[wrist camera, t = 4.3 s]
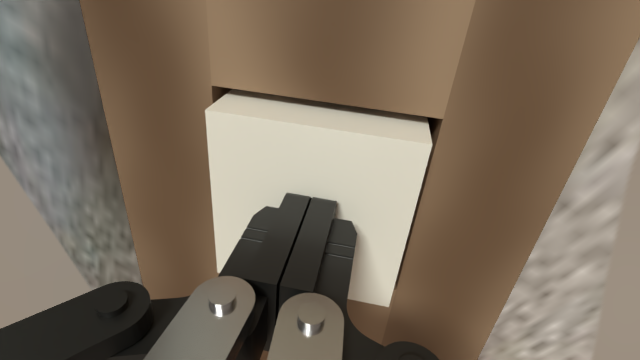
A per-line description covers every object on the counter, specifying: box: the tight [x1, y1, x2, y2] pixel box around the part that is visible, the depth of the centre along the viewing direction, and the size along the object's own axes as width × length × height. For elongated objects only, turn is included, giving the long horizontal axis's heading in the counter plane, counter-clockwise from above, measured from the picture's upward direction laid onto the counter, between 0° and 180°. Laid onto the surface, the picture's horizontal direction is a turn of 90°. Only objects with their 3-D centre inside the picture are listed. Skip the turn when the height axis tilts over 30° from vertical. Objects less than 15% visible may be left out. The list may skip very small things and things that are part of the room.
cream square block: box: [205, 89, 432, 307], centre depth 13 cm, size 6×6×4 cm
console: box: [79, 0, 640, 360], centre depth 18 cm, size 14×28×6 cm, turn 175°
